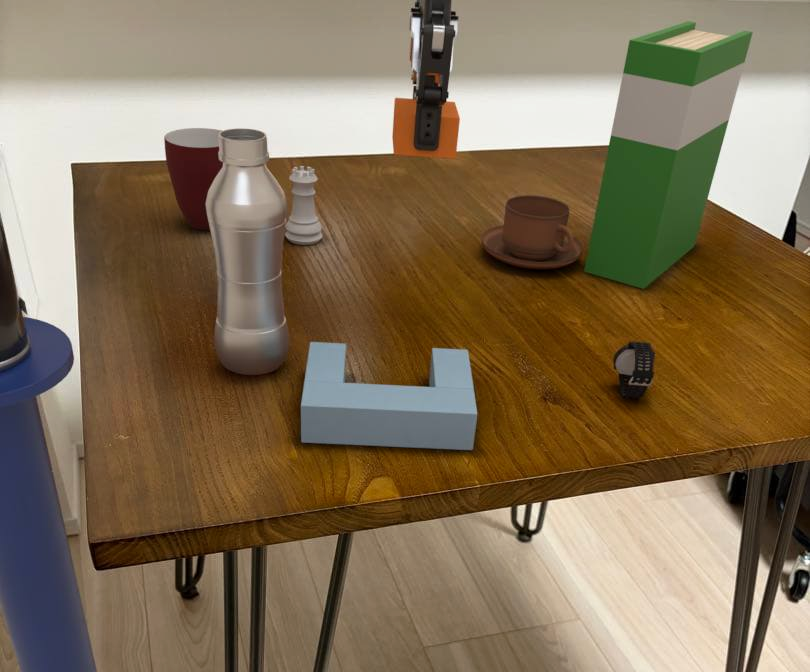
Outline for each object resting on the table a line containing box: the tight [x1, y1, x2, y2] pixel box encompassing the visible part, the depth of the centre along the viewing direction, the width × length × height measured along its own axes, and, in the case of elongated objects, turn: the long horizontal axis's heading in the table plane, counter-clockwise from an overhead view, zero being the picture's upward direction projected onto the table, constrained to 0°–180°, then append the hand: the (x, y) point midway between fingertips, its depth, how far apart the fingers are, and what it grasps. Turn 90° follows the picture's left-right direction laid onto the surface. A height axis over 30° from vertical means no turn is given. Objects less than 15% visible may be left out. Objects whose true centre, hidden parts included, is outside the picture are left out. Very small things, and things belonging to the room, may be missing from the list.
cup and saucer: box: [481, 194, 584, 270], centre depth 105 cm, size 12×12×6 cm
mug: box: [163, 127, 223, 231], centre depth 106 cm, size 11×8×10 cm
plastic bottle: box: [205, 127, 290, 376], centre depth 76 cm, size 6×7×20 cm
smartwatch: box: [612, 341, 656, 399], centre depth 81 cm, size 4×5×5 cm
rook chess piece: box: [284, 165, 323, 246], centre depth 104 cm, size 4×4×8 cm
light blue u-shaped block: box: [300, 341, 478, 451], centre depth 76 cm, size 14×11×4 cm
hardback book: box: [583, 21, 754, 290], centre depth 102 cm, size 18×7×24 cm, turn 147°
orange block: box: [391, 97, 461, 160], centre depth 82 cm, size 6×6×4 cm
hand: (423, 138), depth 82 cm, fingers closed on orange block, 5 cm apart
